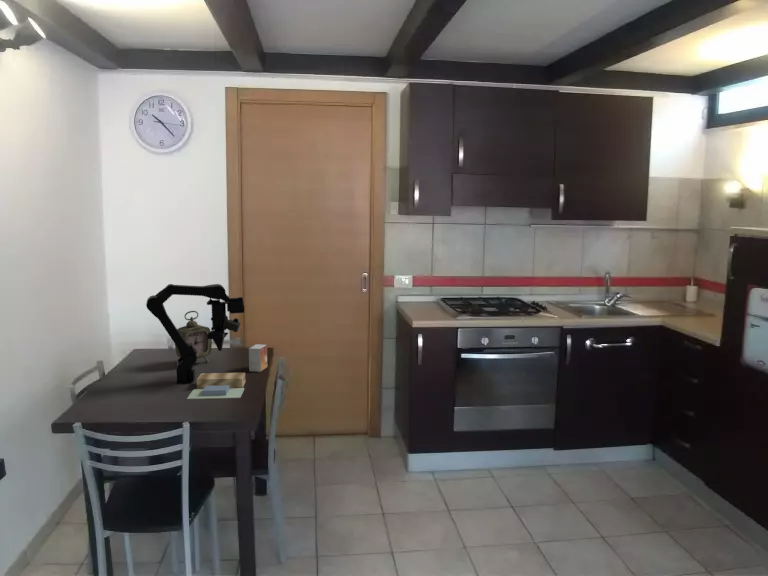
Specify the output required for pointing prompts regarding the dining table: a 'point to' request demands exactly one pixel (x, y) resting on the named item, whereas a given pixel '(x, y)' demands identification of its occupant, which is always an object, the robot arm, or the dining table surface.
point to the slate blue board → (215, 390)
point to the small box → (258, 357)
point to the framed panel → (221, 380)
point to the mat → (231, 394)
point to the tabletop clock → (196, 337)
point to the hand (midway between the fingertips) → (220, 350)
